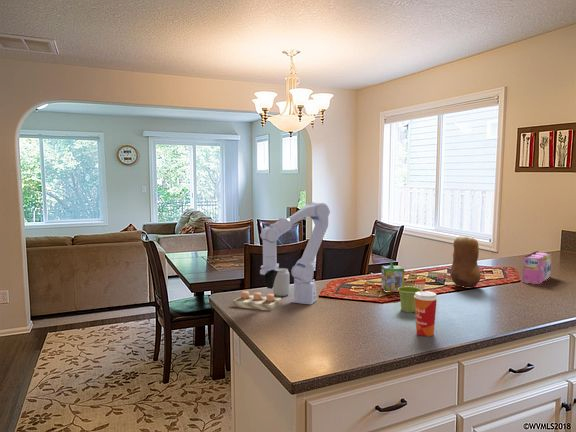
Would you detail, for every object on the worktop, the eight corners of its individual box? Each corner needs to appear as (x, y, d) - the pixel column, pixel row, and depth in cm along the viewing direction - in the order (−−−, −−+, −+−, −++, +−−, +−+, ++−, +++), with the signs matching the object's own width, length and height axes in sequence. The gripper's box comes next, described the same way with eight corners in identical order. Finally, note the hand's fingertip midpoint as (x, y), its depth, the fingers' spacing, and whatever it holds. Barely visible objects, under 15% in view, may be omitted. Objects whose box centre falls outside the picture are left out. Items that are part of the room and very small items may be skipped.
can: (287, 297, 192) (287, 271, 191) (271, 296, 194) (271, 270, 193) (290, 292, 200) (290, 267, 199) (275, 292, 201) (275, 267, 200)
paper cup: (409, 330, 149) (410, 290, 148) (431, 329, 149) (431, 290, 148) (418, 338, 141) (419, 297, 140) (440, 337, 142) (441, 296, 140)
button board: (282, 303, 182) (281, 297, 182) (271, 310, 172) (271, 304, 172) (244, 299, 189) (244, 293, 189) (232, 306, 179) (232, 300, 179)
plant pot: (421, 308, 174) (422, 287, 173) (421, 315, 165) (421, 293, 164) (398, 306, 177) (398, 285, 176) (396, 312, 168) (396, 291, 168)
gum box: (535, 275, 233) (536, 250, 231) (551, 277, 227) (553, 252, 226) (521, 282, 216) (522, 256, 215) (539, 285, 210) (540, 258, 209)
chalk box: (404, 293, 197) (405, 261, 196) (384, 293, 198) (385, 262, 196) (399, 288, 207) (400, 258, 205) (380, 288, 207) (381, 258, 206)
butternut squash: (482, 286, 209) (483, 235, 207) (477, 292, 198) (479, 239, 196) (452, 282, 217) (453, 234, 215) (446, 288, 206) (448, 237, 204)
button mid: (262, 299, 181) (262, 292, 181) (259, 301, 178) (259, 294, 178) (255, 298, 182) (255, 292, 182) (252, 300, 179) (252, 294, 179)
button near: (275, 300, 179) (275, 294, 179) (272, 302, 176) (272, 296, 176) (268, 299, 180) (268, 293, 180) (264, 301, 177) (264, 295, 177)
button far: (250, 297, 183) (250, 291, 183) (246, 299, 180) (246, 293, 180) (243, 297, 185) (243, 290, 184) (239, 299, 182) (239, 292, 181)
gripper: (268, 252, 185) (268, 283, 186) (253, 258, 171) (253, 291, 172) (283, 253, 182) (283, 284, 183) (269, 259, 169) (269, 292, 170)
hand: (270, 288), depth 177 cm, fingers closed
